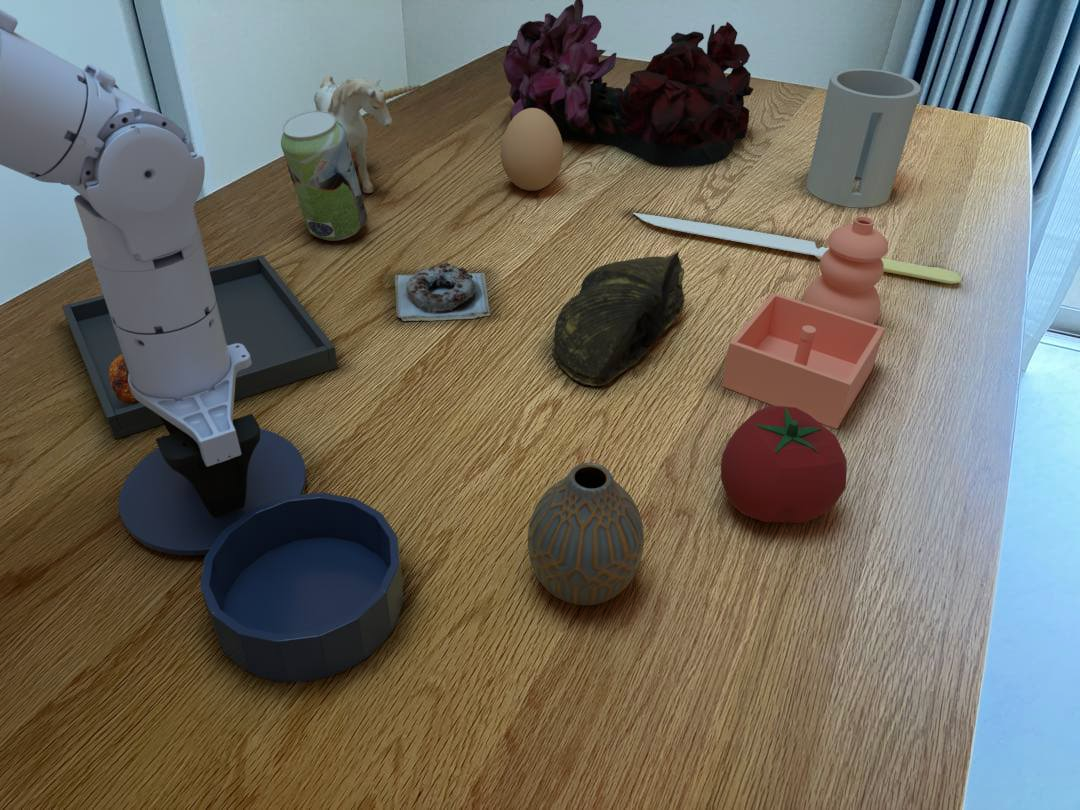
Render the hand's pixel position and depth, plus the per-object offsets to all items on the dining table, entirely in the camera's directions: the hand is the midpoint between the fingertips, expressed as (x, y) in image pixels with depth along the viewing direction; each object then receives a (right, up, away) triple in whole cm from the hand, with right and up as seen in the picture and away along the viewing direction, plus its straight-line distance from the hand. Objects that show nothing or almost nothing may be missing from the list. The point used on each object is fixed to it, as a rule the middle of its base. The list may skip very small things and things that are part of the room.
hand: (213, 479), depth 59 cm
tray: (-6, +10, +14) cm, 18 cm away
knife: (+47, +21, +30) cm, 59 cm away
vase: (+25, -6, -4) cm, 26 cm away
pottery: (+45, +9, +16) cm, 49 cm away
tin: (+8, -7, -6) cm, 12 cm away
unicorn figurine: (+4, +30, +40) cm, 50 cm away
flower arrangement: (+32, +39, +53) cm, 73 cm away
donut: (+13, +15, +22) cm, 29 cm away
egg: (+21, +29, +40) cm, 53 cm away
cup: (+57, +29, +41) cm, 76 cm away
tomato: (+38, -2, +2) cm, 38 cm away
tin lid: (0, -1, +1) cm, 1 cm away
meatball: (-8, +5, +8) cm, 12 cm away
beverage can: (+1, +22, +30) cm, 37 cm away
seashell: (+28, +11, +17) cm, 35 cm away
